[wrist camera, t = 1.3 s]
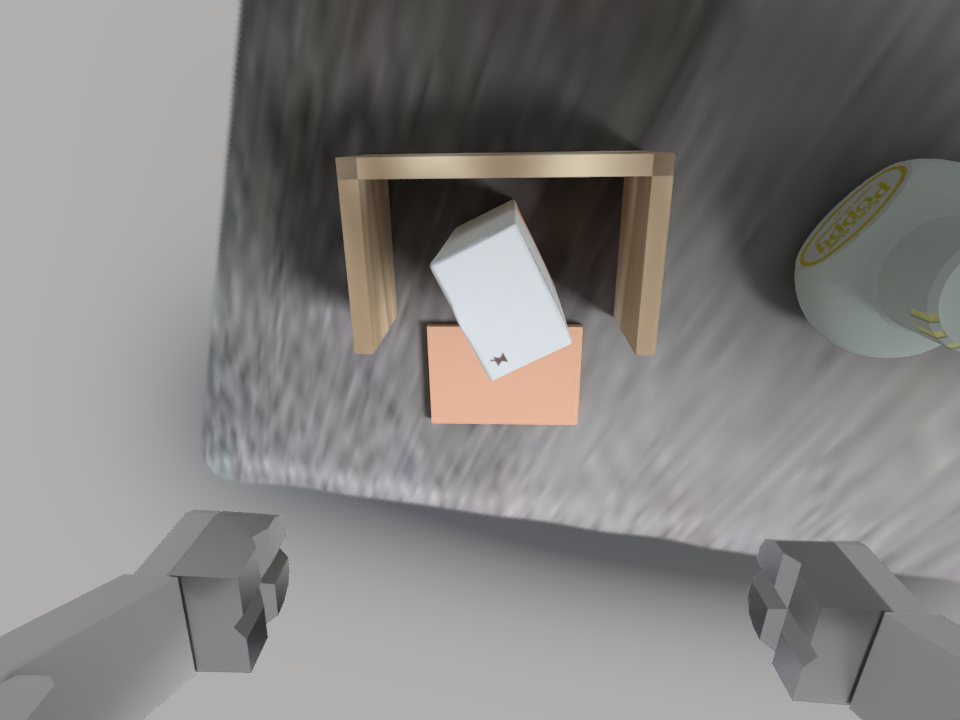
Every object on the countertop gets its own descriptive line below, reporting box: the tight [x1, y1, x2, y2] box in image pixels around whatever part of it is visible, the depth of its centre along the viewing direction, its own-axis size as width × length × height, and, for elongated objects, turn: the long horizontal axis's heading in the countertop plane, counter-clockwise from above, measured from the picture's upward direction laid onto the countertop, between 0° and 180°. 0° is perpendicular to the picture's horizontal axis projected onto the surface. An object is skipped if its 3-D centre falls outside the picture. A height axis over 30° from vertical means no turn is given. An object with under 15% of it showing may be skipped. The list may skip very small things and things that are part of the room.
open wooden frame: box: [335, 151, 676, 356], centre depth 32 cm, size 16×10×7 cm, turn 91°
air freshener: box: [794, 159, 960, 358], centre depth 30 cm, size 11×8×10 cm
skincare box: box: [430, 199, 572, 381], centre depth 30 cm, size 6×4×12 cm
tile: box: [427, 324, 583, 425], centre depth 38 cm, size 10×7×1 cm
